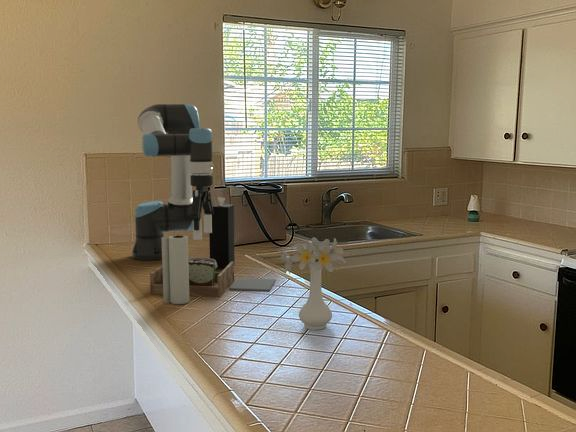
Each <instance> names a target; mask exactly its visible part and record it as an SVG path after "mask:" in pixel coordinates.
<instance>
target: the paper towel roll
mask: <svg viewBox="0 0 576 432" xmlns="http://www.w3.org/2000/svg"><path fill="white" fill-rule="evenodd" d="M188 259H189V236H188V235H180V234H179V235H170V236H169V235H168V236H164V237H163V238H162V259H161V261H162V262H161V263H162V264H161V266H162V267H163V294H162V295H163V303H168V302H170V303H171V304H174V305H184V304H188V303H190V295H189V262H188Z"/></svg>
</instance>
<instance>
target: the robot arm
mask: <svg viewBox="0 0 576 432" xmlns="http://www.w3.org/2000/svg"><path fill="white" fill-rule="evenodd" d="M137 125H138V128H139V130H140V131H141V132H142V133H143V135H142V137H141V138H142V139H141V146H142V147H141V148H142V154H143V155H144V156H145V157H168V156H169V157H170V158H171V159H170V160H171V164H170V166H171V167H170V169H171V197H169V198H168V199H167V204H164V203H163V201H161V200H158V201H157V200H154V201H147V202H142V203H139V204H138V205H136V206H135V208H134V221H135V222H134V225H135V241H134V244H133V248H132V250H131V252H132V253H131V258H132V259H134V260H139V261H154V260H155V261H156V260H162V238H163V237H165V235H164V234H165V233H167V232H182V231H183V232H187V231H192V235H193V236H192V240H194V241H195V240H196V241H202V240H203V237H202V236H203V235H202V234H203V233H204V234H209V233H212V214H214V211H213V205H214V204H213V200H212V195H211V193H212V192H211V187H212V186H213V185H214V176H213V175H212V174H213V168H214V167H215V164H213V135H212V134H213V133H212V129H210V128H208V127H207V128H205V127H204V128H203V127H202V128H201V121H200V116H199V111H198V108H197V107H196V106H195V105H194V104H186V103H169V104H168V103H164V104H163V103H157V104H152V105H151V106H147V107H146V108H144V109H143V110H142V111H141V112H140V114H139V115H138V118H137ZM193 187H195V190H194V189H193ZM202 212H204V214H203V229H202V219H201V217H202ZM164 232H165V233H164ZM202 232H203V233H202Z"/></svg>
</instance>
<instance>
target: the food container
mask: <svg viewBox="0 0 576 432" xmlns="http://www.w3.org/2000/svg"><path fill="white" fill-rule="evenodd" d="M188 262H189V286H215V281H214V280H215V272H216V270H217V269H216V268H217V262H216V260H214V259H211V258H210V257H193V258H190V257H189V258H188Z"/></svg>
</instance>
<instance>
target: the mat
mask: <svg viewBox="0 0 576 432" xmlns="http://www.w3.org/2000/svg"><path fill="white" fill-rule="evenodd" d="M276 281H277V280H276V278H255V277H253V278H251V277H250V278H249V277H237V278H236V280H234V281H233V283H232V284H231V285H230V286H229V287H228V290H229V291H253V292H254V291H255V292H256V291H257V292H271V290H272V288H273V286H274V284H275V283H276Z"/></svg>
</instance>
